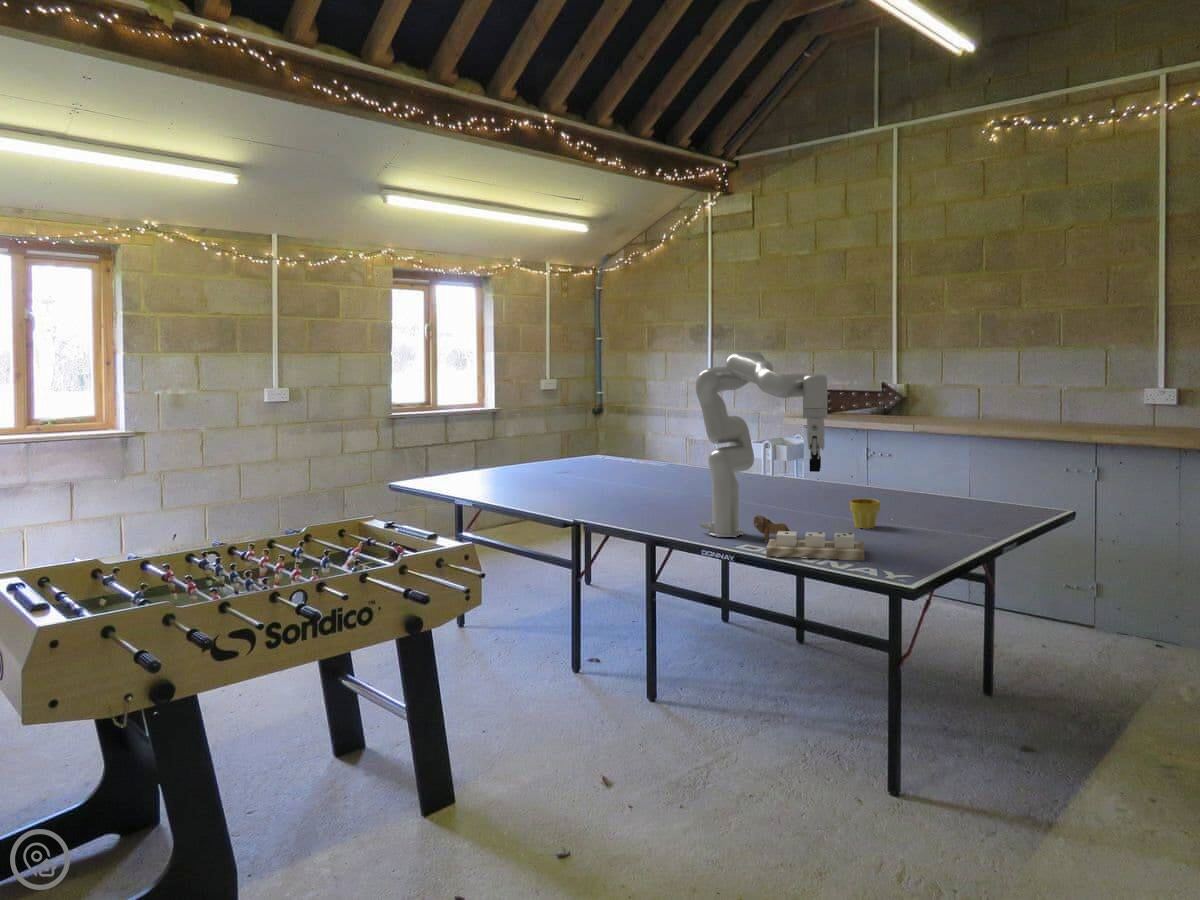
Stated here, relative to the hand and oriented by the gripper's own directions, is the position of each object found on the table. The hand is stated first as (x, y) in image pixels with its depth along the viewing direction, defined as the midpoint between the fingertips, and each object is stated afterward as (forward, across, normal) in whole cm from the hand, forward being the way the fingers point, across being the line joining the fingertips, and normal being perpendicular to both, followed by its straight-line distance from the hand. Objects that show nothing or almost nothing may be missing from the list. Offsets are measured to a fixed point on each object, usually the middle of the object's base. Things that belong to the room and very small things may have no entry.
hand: (815, 469), depth 275 cm
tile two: (+25, 0, 0) cm, 25 cm away
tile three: (+25, 0, -9) cm, 27 cm away
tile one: (+25, 0, +9) cm, 27 cm away
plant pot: (+28, +43, -16) cm, 54 cm away
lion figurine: (+28, +15, +15) cm, 35 cm away
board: (+28, 0, 0) cm, 28 cm away
